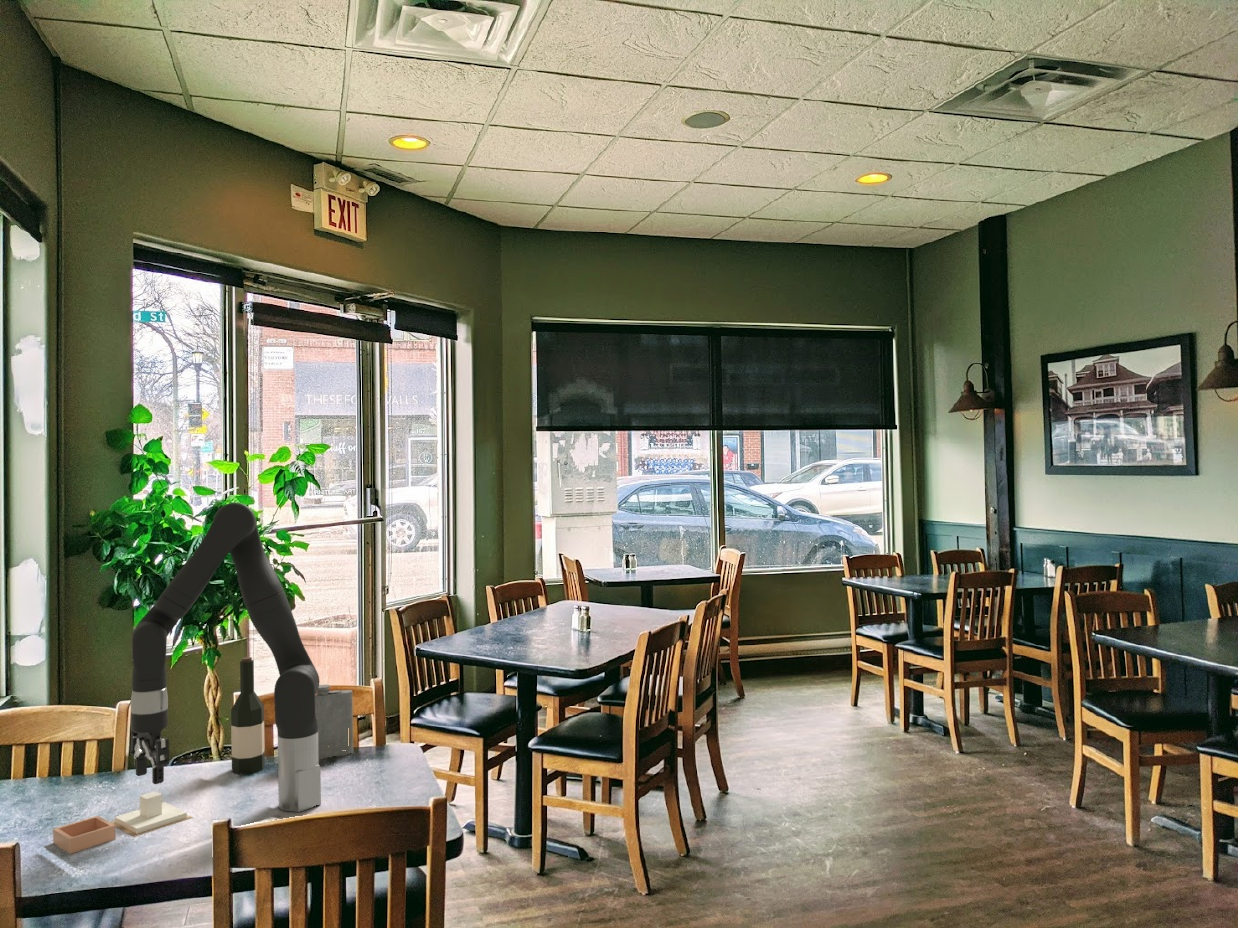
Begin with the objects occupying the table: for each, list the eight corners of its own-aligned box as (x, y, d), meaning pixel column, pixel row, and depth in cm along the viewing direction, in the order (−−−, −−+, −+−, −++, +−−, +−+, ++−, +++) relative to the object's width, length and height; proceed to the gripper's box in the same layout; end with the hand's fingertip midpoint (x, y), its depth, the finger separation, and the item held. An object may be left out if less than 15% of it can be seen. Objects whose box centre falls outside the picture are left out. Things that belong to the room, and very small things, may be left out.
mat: (193, 821, 205) (193, 817, 205) (134, 841, 195) (134, 836, 195) (166, 808, 213) (166, 804, 213) (108, 826, 203) (108, 822, 203)
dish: (115, 843, 194) (115, 825, 194) (70, 858, 187) (69, 839, 187) (98, 833, 200) (97, 815, 199) (53, 847, 192) (52, 828, 192)
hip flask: (296, 764, 244) (295, 691, 244) (293, 760, 247) (292, 688, 247) (354, 753, 253) (353, 682, 252) (350, 749, 256) (349, 679, 256)
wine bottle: (253, 775, 236) (251, 661, 236) (224, 773, 237) (223, 660, 237) (271, 764, 244) (269, 655, 244) (244, 762, 246) (242, 654, 245)
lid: (186, 817, 205) (186, 793, 205) (136, 833, 196) (136, 807, 196) (164, 806, 212) (164, 782, 212) (115, 821, 203) (114, 796, 203)
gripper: (180, 710, 203) (180, 781, 203) (152, 699, 212) (152, 767, 212) (146, 717, 197) (146, 790, 197) (118, 706, 206) (118, 776, 206)
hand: (149, 778), depth 204 cm, fingers open, 8 cm apart
